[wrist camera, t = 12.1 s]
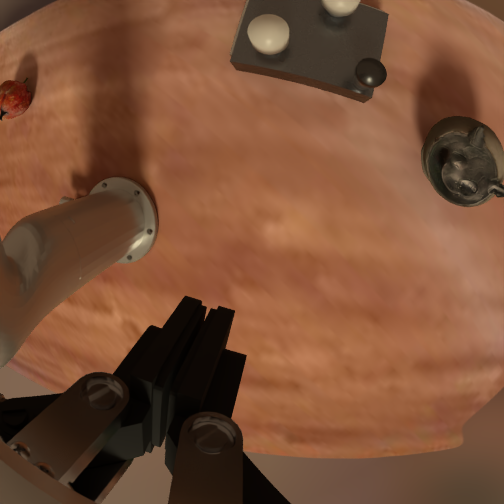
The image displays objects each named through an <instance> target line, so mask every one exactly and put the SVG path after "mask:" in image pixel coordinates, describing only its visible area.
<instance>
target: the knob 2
mask: <svg viewBox="0 0 504 504" xmlns="http://www.w3.org/2000/svg"><path fill="white" fill-rule="evenodd" d="M359 2H360V0H321V4H322V6H323V7H324V8H325V9H326V10H327V11H328V13H329V14H330V15H332V16H334V17H343V16H348V15H351V14H353V13H354V12H355V11H356V9H357V7H358V4H359Z"/></svg>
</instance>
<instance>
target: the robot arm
mask: <svg viewBox="0 0 504 504" xmlns="http://www.w3.org/2000/svg"><path fill="white" fill-rule="evenodd" d="M139 192H140V194H139ZM151 229H152V231H151ZM157 231H158V218H157V212H156V209H155V206H154V203H153V201H152V199H151V197H150V196H149V194H148V193H147V192H146V190H145V189H144V188H143V187H142V186H140V185H139V184H138V183H136V182H135V181H133V180H131V179H128V178H125V177H112V178H108V179H105V180H103V181H101V182H99V183H98V184H97V185H96V186H95V187H94V188H93V189H92V190H91V192H90V193H89V195H88V196H85V197H81V198H78V199H75V200H74V199H73V198H69V197H66V196H64V197H62V198H61V200H60V203H59V205H56V206H53V207H50V208H47V209H44V210H42V211H39V212H36V213H33V214H31V215H28V216H26V217H24V218H22V219H21V220H20V221H18V222H17V223H16V224H15V225H14V226H13V227H12V228H11V229H10V231H9V232H8V233H7V235H6V236H5V238H4V239H3V241H1V237H0V369H1V368H2V367H4V366H5V365H6V364H7V363H8V362H9V361H10V360H11V359H12V358H13V357H14V355H15V354H16V353H17V352H18V350H19V349H20V348H21V346H22V345H23V343H24V342H25V341H26V339H27V338H28V336H29V335H30V334H31V332H32V331H33V330H34V328H35V327H36V326H37V325H38V324H39V323H40V322H41V321H42V319H43V318H44V317H45V316H47V315H48V314H49V313H50V312H51V311H52V310H53V309H54V308H56V307H57V306H58V305H59V304H60V303H62V302H63V301H64V300H65V299H67V298H68V297H69V296H71V295H72V294H73V293H74V292H76V291H77V290H78V289H80V288H81V287H82V286H84V285H85V284H86V283H88V282H89V281H91V280H92V279H93V278H95V277H96V276H97V275H99V274H100V273H102V272H103V271H104V270H106V269H107V268H109V267H110V266H111V265H113V264H114V263H116V262H117V263H131V262H135V261H137V260H139V259H140V258H142V257H143V256H145V255H146V254H147V253H148V252H149V251H150V249H151V248H152V246H153V244H154V242H155V239H156V236H157ZM206 309H207V307H206V306H203V305H202V301H201V300H198V299H195V298H192V297H188V296H185V297H184V298H183V299H182V301H181V302H180V303H179V305H178V306H177V308H176V309H175V311H174V312H173V313H172V315H171V316H170V318H169V319H168V320H167V322H166V323H165V325H164V326H163V327H162V328H159V327H156V326H153V325H151V326H149V327H148V328H147V330H146V331H145V332H144V334H143V335H142V336H141V337H140V339H139V340H138V341H137V343H136V344H135V345H134V347H133V348H132V349H131V351H130V352H129V353H128V355H127V356H126V357H125V359H124V360H123V361H122V363H121V364H120V365H119V367H118V368H117V369H116V371H115V372H114V373H113V375H112V374H110V373H105V372H93V373H90V374H86V375H85V376H83V377H81V378H80V379H79V380H78V381H77V382H75V383H74V384H73V385H72V386H71V387H70V388H68V389H67V390H66V391H65V392H64V393H59V394H52V395H42V396H32V397H21V398H12V399H5V397H4V395H3V394H1V393H0V504H101V503H102V501H103V500H104V499H105V498H106V496H107V495H108V494H109V492H110V491H111V490H112V489H113V487H114V486H115V484H116V483H117V482H118V481H119V479H120V478H121V477H122V475H123V474H124V473H125V471H126V470H127V469H128V467H129V466H130V465H131V463H132V461H133V459H134V458H135V457H139V456H143V455H144V453H145V451H146V452H149V453H151V452H152V450H153V448H154V446H158V447H161V445H162V443H163V441H164V439H165V436H166V441H165V449H166V452H165V465H166V466H167V468H168V469H169V471H170V472H171V474H172V482H171V488H170V494H169V501H168V504H291V503H290V502H289V501H288V500H287V499H286V498H285V497H284V496H283V495H282V494H281V493H280V492H279V491H278V490H277V489H276V488H275V487H274V486H273V485H272V484H271V483H270V482H269V480H268V479H267V478H266V477H265V476H264V475H263V474H262V473H261V472H260V470H258V468H257V467H256V466H255V465H254V464H253V463H252V461H251V460H250V459H249V458H248V457H247V456H246V454H245V453H244V452H243V436H242V432H241V430H240V428H239V427H238V425H237V424H236V423H235V422H234V421H233V420H232V419H231V417H232V413H233V409H234V405H235V401H236V397H237V393H238V389H239V385H240V381H241V377H242V373H243V369H244V365H245V361H246V356H247V355H244V354H241V353H237V352H234V351H230V350H227V349H225V348H226V344H227V340H228V337H229V333H230V329H231V325H232V321H233V317H234V313H235V310H231V309H228V308H225V307H221V306H218V308H217V310H216V309H212V308H211V309H210V311H209V313H208V315H207V317H206V319H205V314H206ZM204 319H205V321H204Z"/></svg>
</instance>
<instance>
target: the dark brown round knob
mask: <svg viewBox="0 0 504 504" xmlns="http://www.w3.org/2000/svg"><path fill="white" fill-rule="evenodd" d="M386 76H387V73H386V69H385V67H384V65H383V64H382V63H381V62H380V61H378V60H376V59H374V58H364V59H362V60H361V61H360V62H359V63H358V64H357V66H356V68H355V76H354V78H353V83H354V85H355V86H356V87H357V88H358V89H361V90H366V89H368V88H375V87H378V86H380V85H381V84H382V83H383V82H384V81H385V80H386Z"/></svg>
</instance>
